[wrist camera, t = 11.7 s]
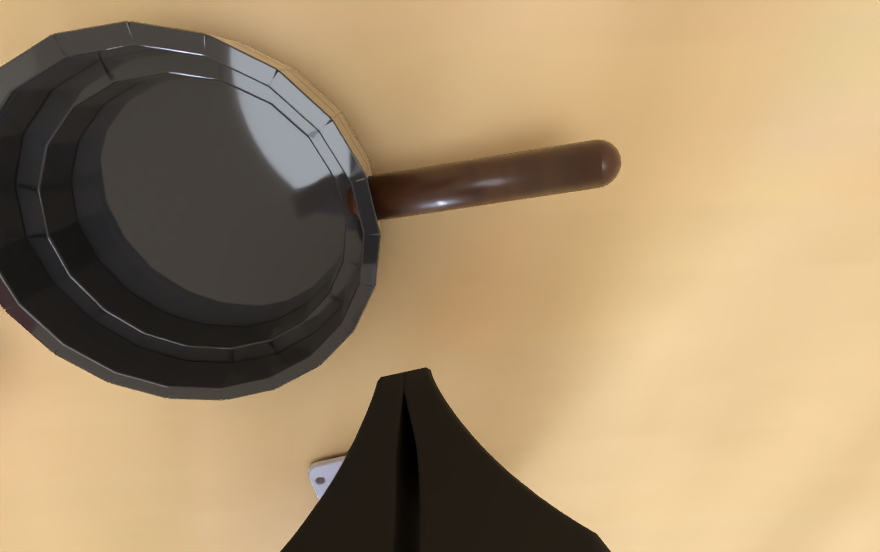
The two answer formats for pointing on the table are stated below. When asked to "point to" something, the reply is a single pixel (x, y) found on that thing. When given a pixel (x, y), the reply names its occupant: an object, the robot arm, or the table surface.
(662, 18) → the table surface
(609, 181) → the pan handle
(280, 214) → the pan
